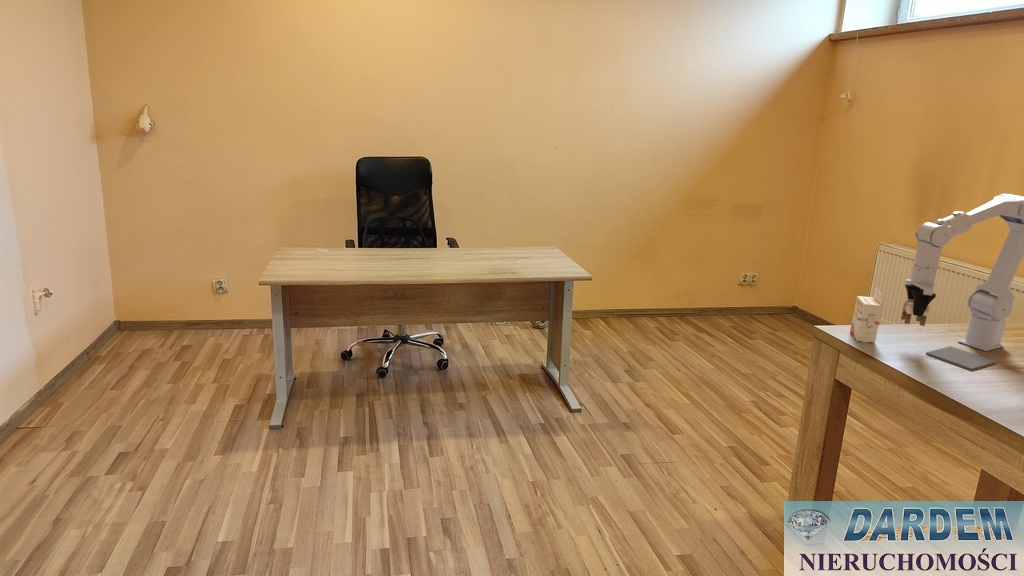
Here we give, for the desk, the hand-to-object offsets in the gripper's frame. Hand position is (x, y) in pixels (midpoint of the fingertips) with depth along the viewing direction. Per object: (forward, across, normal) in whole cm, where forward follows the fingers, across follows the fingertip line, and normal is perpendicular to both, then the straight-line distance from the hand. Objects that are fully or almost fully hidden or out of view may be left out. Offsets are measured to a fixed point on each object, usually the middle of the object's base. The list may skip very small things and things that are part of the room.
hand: (914, 312), depth 183 cm
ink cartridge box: (+11, -3, -11) cm, 16 cm away
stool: (+3, 0, 0) cm, 3 cm away
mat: (+10, +5, +12) cm, 17 cm away
